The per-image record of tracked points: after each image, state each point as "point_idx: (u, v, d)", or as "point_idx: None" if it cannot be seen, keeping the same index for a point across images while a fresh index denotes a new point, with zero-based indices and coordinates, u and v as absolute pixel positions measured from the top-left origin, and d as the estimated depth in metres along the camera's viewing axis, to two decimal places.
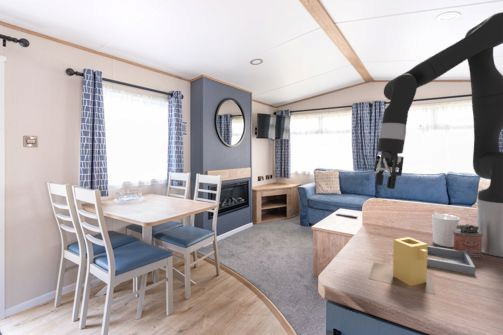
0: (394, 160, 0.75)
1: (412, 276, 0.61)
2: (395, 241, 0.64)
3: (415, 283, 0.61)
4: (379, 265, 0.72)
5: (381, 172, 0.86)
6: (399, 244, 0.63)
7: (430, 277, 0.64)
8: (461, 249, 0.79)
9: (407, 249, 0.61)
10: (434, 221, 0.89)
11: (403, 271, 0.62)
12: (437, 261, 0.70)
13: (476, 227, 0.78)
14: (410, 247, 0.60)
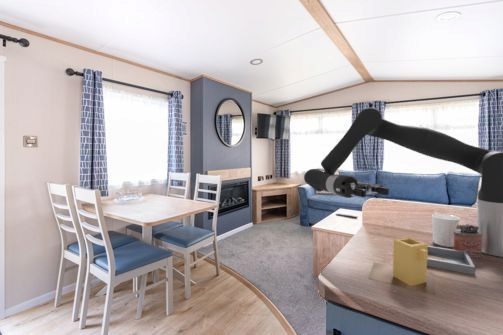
0: None
1: (412, 276, 0.61)
2: (395, 241, 0.64)
3: (415, 283, 0.61)
4: (379, 265, 0.72)
5: (376, 188, 0.78)
6: (399, 244, 0.63)
7: (430, 277, 0.64)
8: (461, 249, 0.79)
9: (407, 249, 0.61)
10: (434, 221, 0.89)
11: (403, 271, 0.62)
12: (437, 261, 0.70)
13: (476, 227, 0.78)
14: (410, 247, 0.60)
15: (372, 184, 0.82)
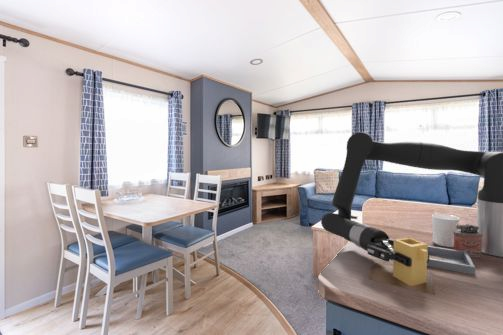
0: None
1: (412, 276, 0.61)
2: (395, 241, 0.64)
3: (415, 283, 0.61)
4: (379, 265, 0.72)
5: None
6: (399, 244, 0.63)
7: (430, 277, 0.64)
8: (461, 249, 0.79)
9: (407, 249, 0.61)
10: (434, 221, 0.89)
11: (403, 271, 0.62)
12: (437, 261, 0.70)
13: (476, 227, 0.78)
14: (410, 247, 0.60)
15: None
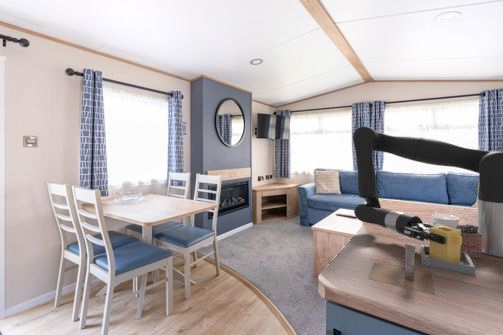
0: None
1: (448, 258, 0.70)
2: (431, 229, 0.74)
3: None
4: (379, 265, 0.72)
5: None
6: (435, 231, 0.73)
7: (430, 277, 0.64)
8: (461, 249, 0.79)
9: (443, 235, 0.71)
10: (434, 221, 0.89)
11: (439, 254, 0.72)
12: (437, 261, 0.70)
13: (476, 227, 0.78)
14: (446, 233, 0.70)
15: (440, 225, 0.80)
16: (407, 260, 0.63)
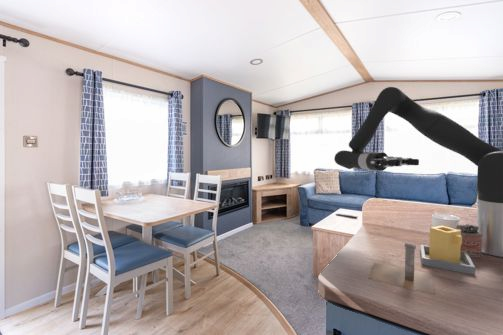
0: None
1: (448, 258, 0.70)
2: (431, 229, 0.74)
3: None
4: (379, 265, 0.72)
5: (406, 160, 0.90)
6: (435, 231, 0.73)
7: (430, 277, 0.64)
8: (461, 249, 0.79)
9: (443, 235, 0.71)
10: (434, 221, 0.89)
11: (439, 254, 0.72)
12: (437, 261, 0.70)
13: (476, 227, 0.78)
14: (446, 233, 0.70)
15: None
16: (407, 260, 0.63)
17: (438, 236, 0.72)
